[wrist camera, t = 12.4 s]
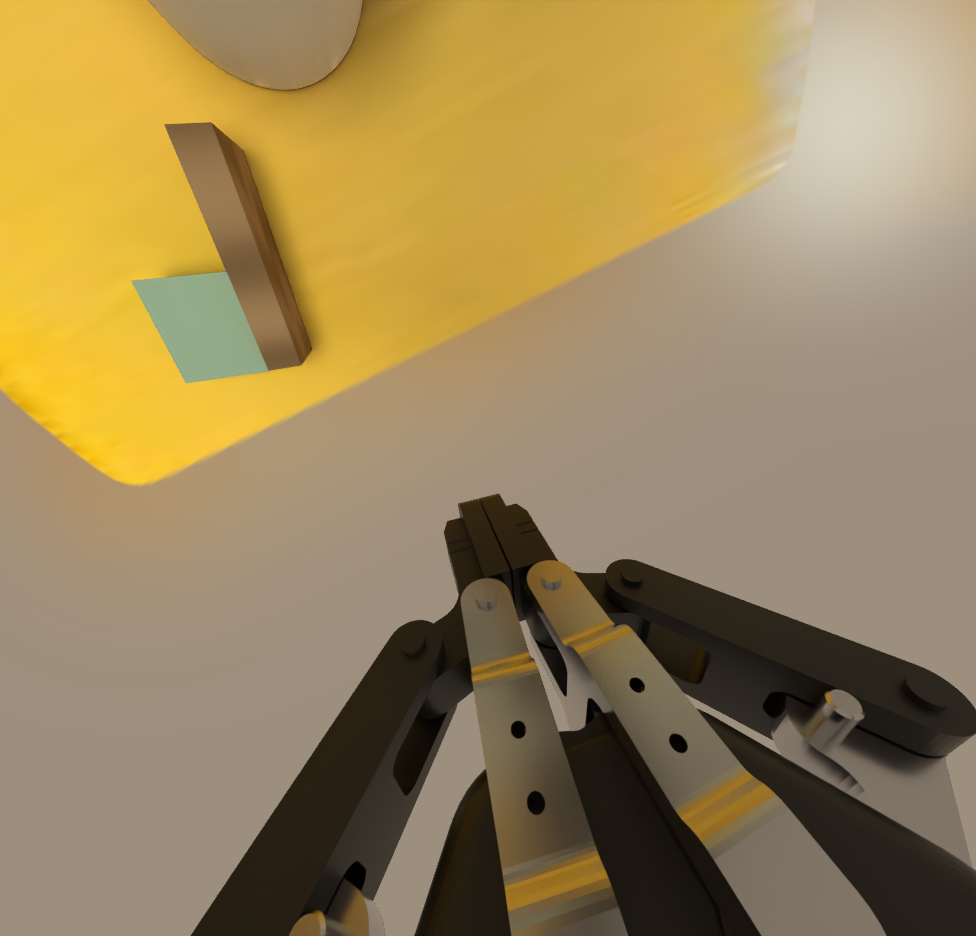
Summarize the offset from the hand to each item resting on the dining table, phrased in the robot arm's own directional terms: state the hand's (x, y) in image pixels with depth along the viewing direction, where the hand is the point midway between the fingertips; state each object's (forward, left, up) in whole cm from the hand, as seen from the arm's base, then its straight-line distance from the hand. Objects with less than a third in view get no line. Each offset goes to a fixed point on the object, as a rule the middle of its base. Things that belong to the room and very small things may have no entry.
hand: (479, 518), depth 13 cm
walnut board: (-9, -10, -27) cm, 30 cm away
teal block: (-5, -14, -27) cm, 31 cm away
